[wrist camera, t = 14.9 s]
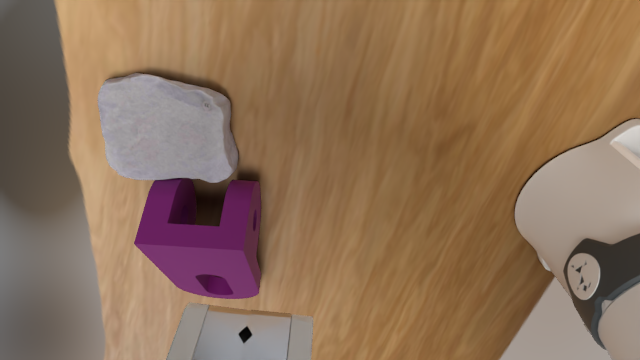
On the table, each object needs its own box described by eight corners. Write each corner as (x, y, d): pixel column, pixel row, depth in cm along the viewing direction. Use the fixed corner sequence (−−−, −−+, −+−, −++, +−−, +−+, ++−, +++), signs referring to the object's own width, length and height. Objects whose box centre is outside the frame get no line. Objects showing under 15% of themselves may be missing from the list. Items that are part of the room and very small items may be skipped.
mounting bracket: (270, 236, 56) (256, 166, 40) (262, 300, 52) (243, 250, 36) (199, 232, 56) (157, 160, 40) (185, 295, 52) (133, 243, 36)
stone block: (108, 65, 39) (125, 165, 43) (82, 74, 35) (103, 185, 39) (237, 69, 39) (241, 169, 43) (226, 78, 35) (232, 188, 39)
